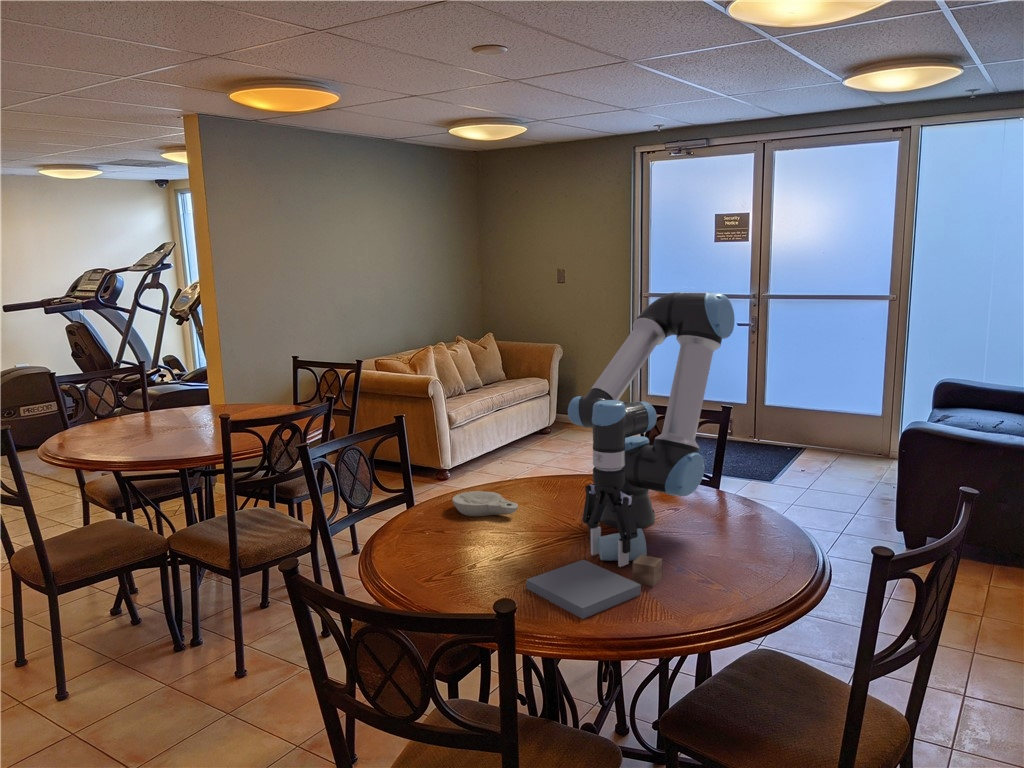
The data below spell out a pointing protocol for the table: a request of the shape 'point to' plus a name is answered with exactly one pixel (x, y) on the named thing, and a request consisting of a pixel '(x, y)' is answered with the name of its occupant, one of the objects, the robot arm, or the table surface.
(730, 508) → the table surface
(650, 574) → the walnut block
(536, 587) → the plinth
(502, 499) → the oil lamp
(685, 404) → the robot arm
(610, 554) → the cup
